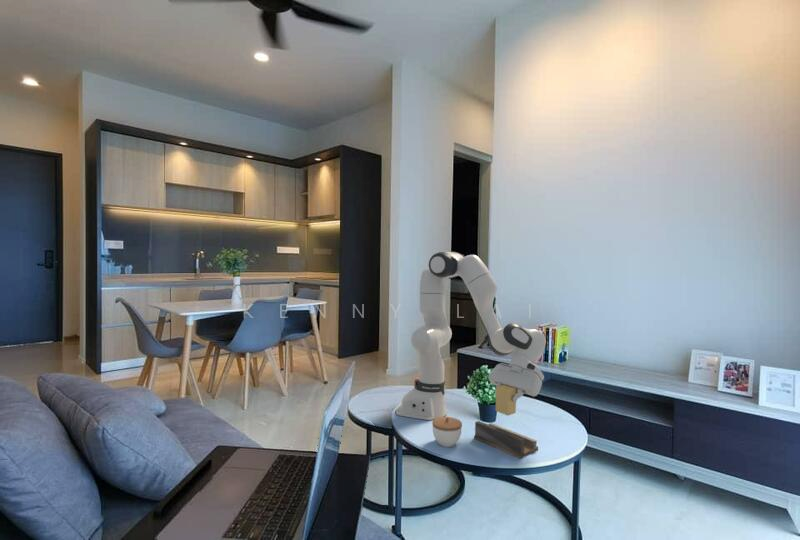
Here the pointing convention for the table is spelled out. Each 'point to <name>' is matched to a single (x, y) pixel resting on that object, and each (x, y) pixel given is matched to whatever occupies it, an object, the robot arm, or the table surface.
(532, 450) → the base
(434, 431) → the lidded jar
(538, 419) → the table surface
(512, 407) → the ochre block
